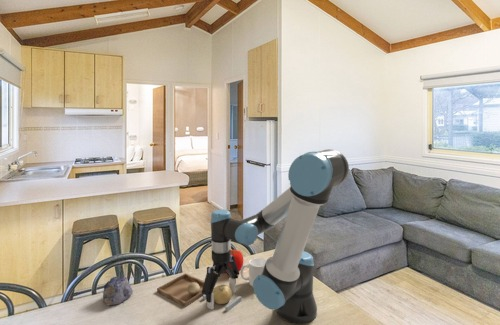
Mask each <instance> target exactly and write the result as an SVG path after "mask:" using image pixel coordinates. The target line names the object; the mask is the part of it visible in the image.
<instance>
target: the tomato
mask: <svg viewBox="0 0 500 325" xmlns="http://www.w3.org/2000/svg"><path fill="white" fill-rule="evenodd" d="M230 250H231V255H232V256H234V257H235V262H236V265H237V268H238V270H239V272H241V268H242V266H243V265H244V256H243V254H242V252H241V251H240V250H238V249H230ZM229 266H230V263H229ZM230 267H231V266H230ZM231 269H232V268H231ZM224 273H227V274H228V272H227V271H225V272H224Z"/></svg>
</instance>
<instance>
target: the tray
mask: <svg viewBox="0 0 500 325" xmlns="http://www.w3.org/2000/svg"><path fill="white" fill-rule="evenodd" d="M204 281H205V280H202V279H199V278H197V277H195V276H192V275H190V274H188V273H186V272H185V273H183V274H181V275H180V276H178V277H176V278H173V279H172V280H170V281H168V282H166V283H165V284H163V285H161V286H159V287H157V288H156V292H157V293H159V294H160V295H162V296H164V297H166V298H168V299H170V300H171V301H173V302H175V303H177V304H179V305H181V306H182V307H184V308H186V307H188V306H190V305H192V304H193V303H195V302H196V301H198V300H199V299H200V298H203V295H204V294H202V289H203V285H204ZM192 282H196V283H198V284H199V286H200V290H199V292H198V294H196V295H190V294H189V293H188V290H187V289H188V286H189V284H190V283H192ZM209 291H210V290H209Z"/></svg>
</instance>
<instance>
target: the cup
mask: <svg viewBox="0 0 500 325" xmlns="http://www.w3.org/2000/svg"><path fill="white" fill-rule="evenodd" d="M266 261H267V259H266V258H262V257H254V258H251V259H250V260H248V264H243V266H242V268H241V270H240V278H242V279H243V280H244V281H248V284H249V286H251V287H252V288H253V282H254V280H255V278H256V277H257V276H258V275H261V274H262V272H263V269H264V266H265V263H266ZM245 268H248V277H247V276H245V275H244V269H245Z"/></svg>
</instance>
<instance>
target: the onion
mask: <svg viewBox="0 0 500 325" xmlns="http://www.w3.org/2000/svg"><path fill="white" fill-rule="evenodd" d="M212 293H213V295H214V303H215V304H217V305H227V303H230V302H231V299H232V295H233V293H232V291H231V289H230V288H229V285H227V284H219V285H217V287H216V286H215V287H214V290H213V292H212Z"/></svg>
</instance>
